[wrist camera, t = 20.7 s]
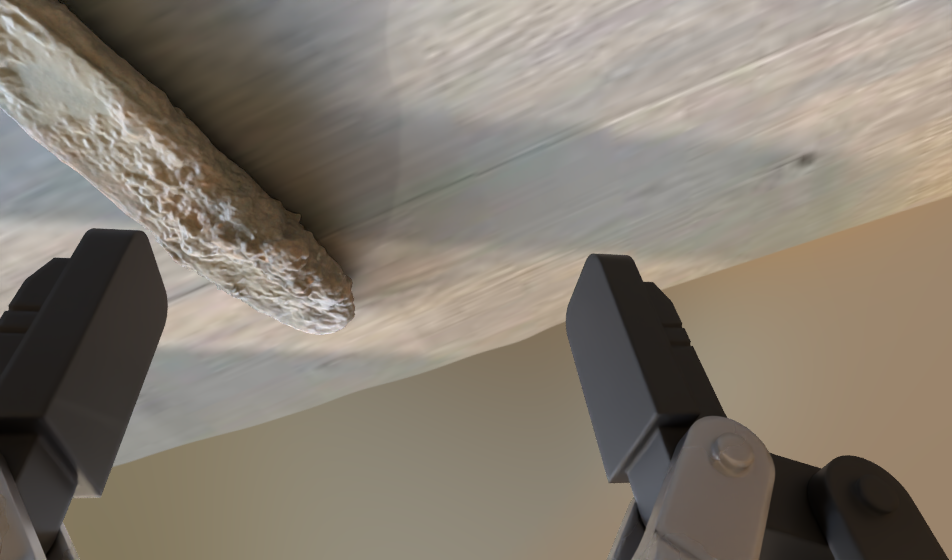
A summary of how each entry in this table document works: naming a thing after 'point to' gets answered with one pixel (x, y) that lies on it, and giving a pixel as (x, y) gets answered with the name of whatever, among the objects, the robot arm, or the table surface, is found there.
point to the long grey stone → (162, 168)
